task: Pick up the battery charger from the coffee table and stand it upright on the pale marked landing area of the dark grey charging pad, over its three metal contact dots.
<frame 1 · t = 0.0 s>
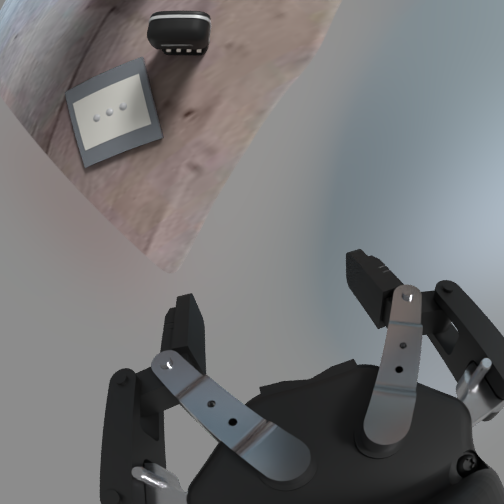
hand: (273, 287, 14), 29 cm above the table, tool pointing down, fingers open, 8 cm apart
charging pad: (112, 112, 32), on the table
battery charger: (185, 48, 29), on the table
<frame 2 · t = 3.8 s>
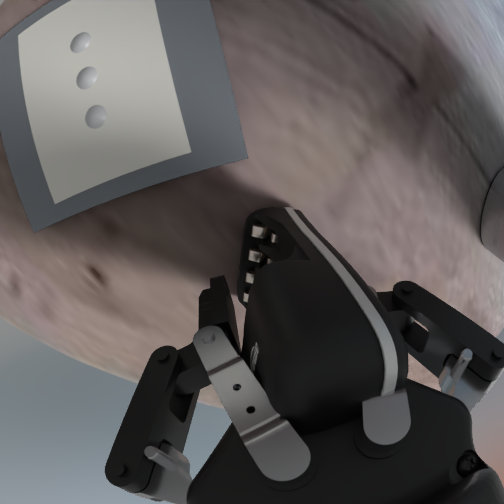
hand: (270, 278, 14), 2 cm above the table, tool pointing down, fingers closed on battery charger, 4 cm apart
charging pad: (95, 79, 10), on the table
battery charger: (259, 255, 16), on the table, touching gripper
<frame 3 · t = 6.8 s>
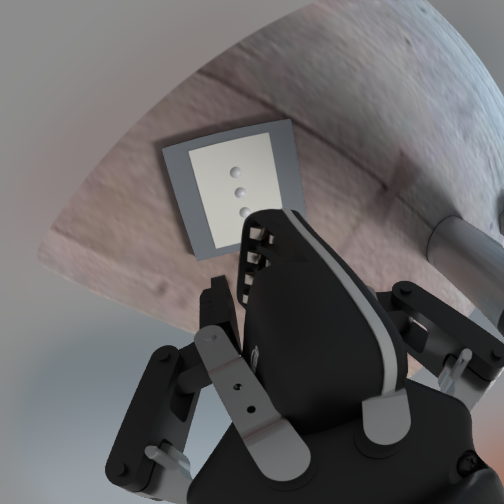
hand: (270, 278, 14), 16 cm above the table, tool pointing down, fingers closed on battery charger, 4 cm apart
charging pad: (239, 190, 29), on the table
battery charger: (257, 256, 16), point 14 cm above the table, touching gripper
when the fingers open (4 cm above the table, at t = 9.8 s): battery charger drops 1 cm, resting on charging pad.
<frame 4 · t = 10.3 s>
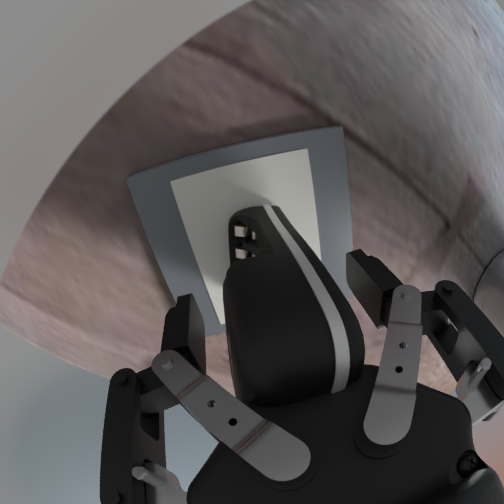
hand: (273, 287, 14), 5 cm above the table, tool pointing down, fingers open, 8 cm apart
charging pad: (256, 240, 18), on the table
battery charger: (247, 252, 18), point 1 cm above the table, touching charging pad
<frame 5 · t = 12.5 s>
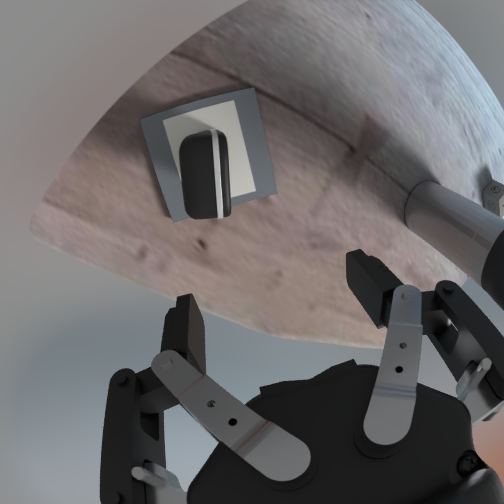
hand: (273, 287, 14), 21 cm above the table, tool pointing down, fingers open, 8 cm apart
charging pad: (210, 154, 30), on the table
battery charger: (204, 158, 29), point 1 cm above the table, touching charging pad
dice cube: (488, 194, 40), on the table
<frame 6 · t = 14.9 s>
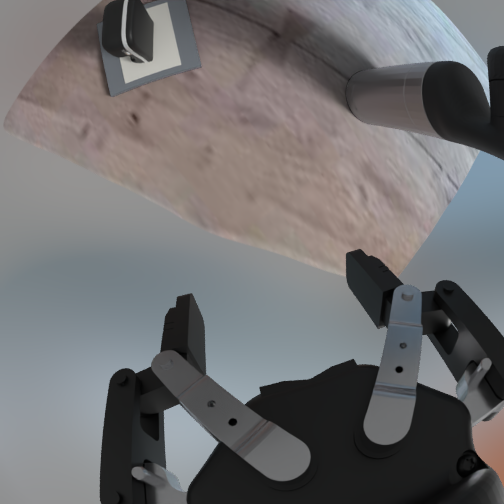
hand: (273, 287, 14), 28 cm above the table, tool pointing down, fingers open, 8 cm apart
charging pad: (146, 42, 27), on the table
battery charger: (140, 43, 26), point 1 cm above the table, touching charging pad
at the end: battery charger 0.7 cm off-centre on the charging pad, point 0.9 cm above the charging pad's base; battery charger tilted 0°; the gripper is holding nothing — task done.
